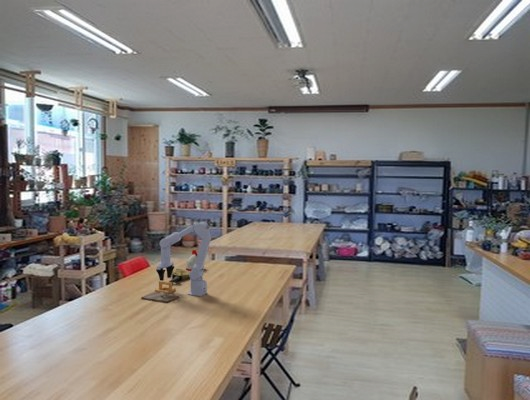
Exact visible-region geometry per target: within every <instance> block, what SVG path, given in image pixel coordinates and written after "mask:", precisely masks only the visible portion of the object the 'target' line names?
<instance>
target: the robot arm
mask: <svg viewBox="0 0 530 400" xmlns="http://www.w3.org/2000/svg"><path fill="white" fill-rule="evenodd" d="M210 229H211V227H210V226H209V224H208V222H206V221H201V222H196V223H195V224H192V225H189V226H188V227H186V228H184V229H183V230H181V231H179V232H178V231H173V232H171V234H169V235H167V236H165V237H164V238H162V239H161V240H160V241H159V246H160V263H159V265H158V266H156V269H155V270H156V273H157V274H158V275H157V276H158V278H159V281H164V280H165V279H164V278H165V272H166V277H167V278H168V279H172V276H171V275H172V272H173V271H174V269H175V266H174V265H175V262H171V247H172V245H174V244H176V243H178V242H180V241H181V239H182V237H185V236H187V235H188V234H191V233H196V235H198V236H199V237H200V238H201V242H200V245H199V247H198V252H197V254H198V255H197V259H196V262H195V265H194V266H193V268H192V270H191V271H190V273H189V277H190V278H189V279H190V292H188V293H187V295H191V296H196V297H202V296H204V295H206V294H208V291H207V290H208V284H207V283H208V282H207V281H206V280H205V279H204V278H203V276H204V274H205V265H204V264H205V261H206V257H207V255H208V250H209V246H210V244H211V240H212V234H211V232H210V231H211V230H210Z"/></svg>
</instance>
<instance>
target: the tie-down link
mask: <svg viewBox="0 0 530 400" xmlns="http://www.w3.org/2000/svg"><path fill="white" fill-rule="evenodd" d="M163 285H166V286H163ZM176 290H177V288H176V287H173V283H172V282H169V281H164V280H163V281H161V280H159V281H158V288H157V289H156V288H155V289H154V292H157V293H161V292H163V293H164V294H171V293H173V292H176Z"/></svg>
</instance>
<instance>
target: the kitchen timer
mask: <svg viewBox="0 0 530 400" xmlns="http://www.w3.org/2000/svg"><path fill="white" fill-rule="evenodd" d="M191 254H192V255H191V256H189V258H188V260H186V263H185V270H186V271H191V270H192V268H193V266H194V265H195V262H196V259H197V255H198V252H197V250H195V249H193V250H192V251H191Z"/></svg>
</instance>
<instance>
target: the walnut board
mask: <svg viewBox="0 0 530 400" xmlns="http://www.w3.org/2000/svg"><path fill="white" fill-rule="evenodd" d="M179 298H180V295H178V294H177V295H176V294H171V293H169V294H164V293H163V297H161V293H157V292H155V291H153V292H151V293H149V294H146V295H143V296H141V297H140V299H141V300H145V301H151V300H152V302H158V303H159V302H160V303H165V304H168V303H170V302H173V301H174V300H177V299H179Z"/></svg>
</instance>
